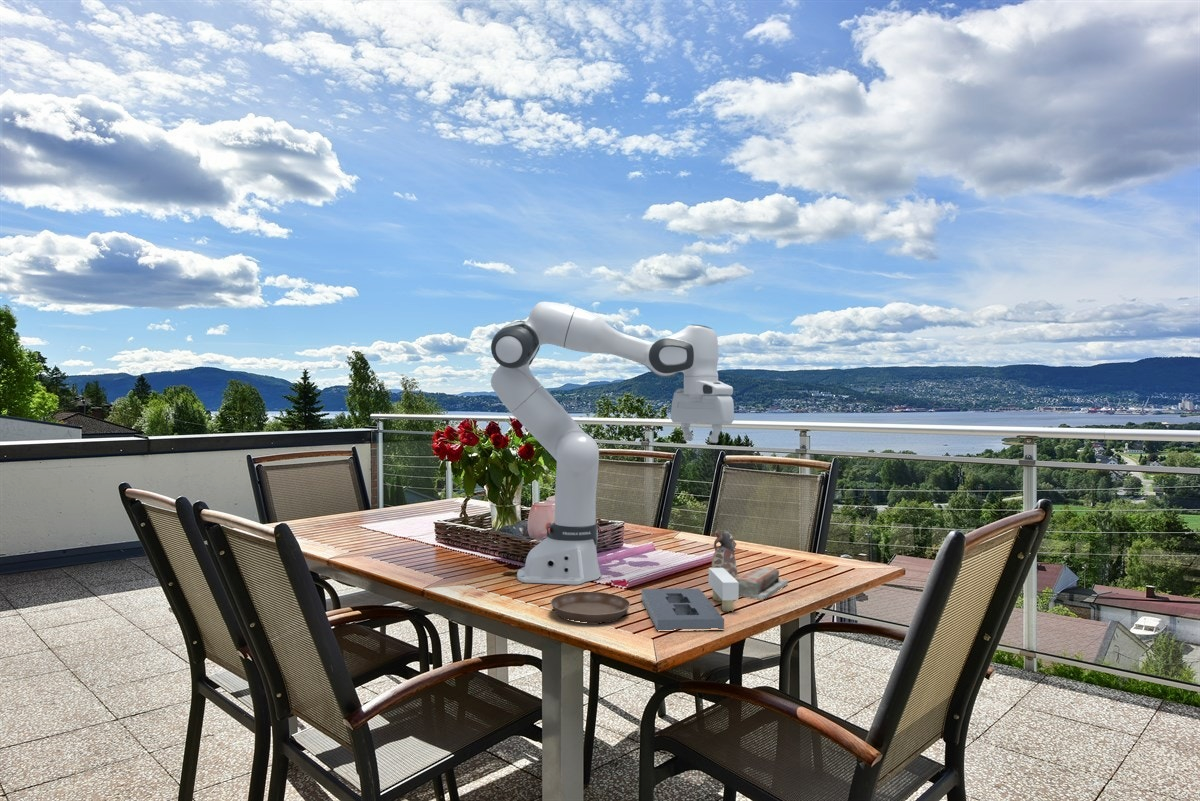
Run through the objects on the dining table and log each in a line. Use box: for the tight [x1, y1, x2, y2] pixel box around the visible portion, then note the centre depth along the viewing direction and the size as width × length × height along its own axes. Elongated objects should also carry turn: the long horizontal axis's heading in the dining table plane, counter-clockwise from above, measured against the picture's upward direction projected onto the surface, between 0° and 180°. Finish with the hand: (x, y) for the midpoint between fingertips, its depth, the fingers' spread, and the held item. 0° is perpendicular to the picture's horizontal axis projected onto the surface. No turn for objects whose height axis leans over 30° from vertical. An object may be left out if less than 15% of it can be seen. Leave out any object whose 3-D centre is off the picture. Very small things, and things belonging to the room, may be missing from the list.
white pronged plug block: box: [708, 567, 739, 613], centre depth 172 cm, size 14×4×7 cm, turn 5°
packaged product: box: [734, 566, 789, 600], centre depth 186 cm, size 18×5×10 cm
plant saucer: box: [550, 591, 631, 623], centre depth 164 cm, size 18×18×3 cm
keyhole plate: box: [641, 588, 725, 631], centre depth 164 cm, size 24×14×2 cm, turn 5°
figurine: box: [711, 530, 739, 578], centre depth 201 cm, size 7×7×12 cm
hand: (700, 441), depth 189 cm, fingers open, 8 cm apart
